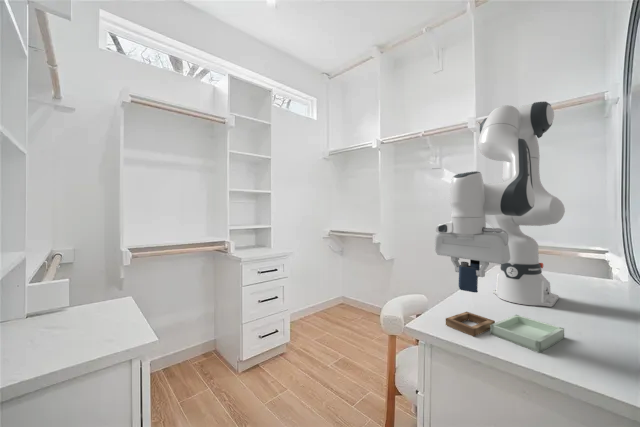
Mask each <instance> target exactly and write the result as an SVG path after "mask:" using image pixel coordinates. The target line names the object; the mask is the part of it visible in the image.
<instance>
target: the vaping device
mask: <svg viewBox="0 0 640 427" xmlns="http://www.w3.org/2000/svg"><path fill="white" fill-rule="evenodd" d="M469 260H470V259H469ZM480 268H481V265H480V261H476V260H470V262H468V261H460V267H459V273H458V288H459V290H460V291H463V292H464V291H465V292H471V293H478V291H479V290H478V286H479V285H478V284H479V281H478V280H479V277H478V276H476V274H477V273H476V270H479V269H480Z"/></svg>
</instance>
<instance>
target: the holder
mask: <svg viewBox="0 0 640 427" xmlns="http://www.w3.org/2000/svg"><path fill="white" fill-rule="evenodd" d="M467 321H470V322H472V323H475V324H474V325H469V324H467V323H463V322H467ZM495 321H496V320H493V319H491V318H487V317H485V316H481V315H478V314H475V313H472V312H469V311H464V312H461V313H457V314H455V315H451V316H449V317H445V326H446V325H447V326H446V327H449V328H452V329H453V330H457V331H459V332H461V333H464V334H467V335H469V336H470V337H471V336H472V337H476V336H478V335H481V334H485V332H488V331H490V325H492V324H494V323H496V322H495Z"/></svg>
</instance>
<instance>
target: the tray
mask: <svg viewBox="0 0 640 427" xmlns="http://www.w3.org/2000/svg"><path fill="white" fill-rule="evenodd" d="M489 331H490V335H492V336H494V337H497V338H499V339H502V340H505V341H508V342H510V343H513V344H515V345H518V346H521V347H524V348H526V349H527V350H532V351H534V352H537V353H538V354H539V353H542V352H543V351H546V350H547V349H548V348H550V347H551V346H552V347H553V346H554V345H555V344H557V343H559V342H560V341H562V340H565V327H560V326H556V325H555V324H554V325H553V324H549V323H545V322H543V321H540V320H536V319H532V318H529V317H525V316H522V315H519V314H515V315H512V316H510V317H509V316H508V317H507V318H504V319H502V320H499V321H497V322H495V323H494V324H492V325H490V330H489Z"/></svg>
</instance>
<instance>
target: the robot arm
mask: <svg viewBox="0 0 640 427" xmlns="http://www.w3.org/2000/svg"><path fill="white" fill-rule="evenodd" d="M554 119H555V111H554V108H553V107H552V105H551V103H549V102H547V101H537V102H536V101H535V102H533V103H531V104H525V105H520V106H512V105H501V106H498V107H496V108H494V109H493V110H492V111H491V112H489V114H488V116H487V117H486V118H484V119H483V120H482V122H481V123H480V125H479V137H478V143H477V148H478V150H479V152H480V153H481V154H482V155H483V156H484V157H486V158H487V159H489V160H493V161H496V162H497V161H499V162H502V181H501V182H492V183H485V182H484V178H483V174H482V173H481V171H478V170H477V171H469V172H468V171H467V172H462V173H457V174H455V175H453V176H452V179H451V182H450V186H449V187H450V189H449V203H450V206H451V214H450V221H447V222H444V223H441V224H438V225H436V226H435V231H436V235H435V237H434V251H435V253H436V254H437V255H438V256H443V257H448V258H449V257H450V261H451V263H452V265H453V266H454V272H455V273H458V274H459V267H460V265H461V263H460V262H459V260H460V259H464V260H476V261H480V269H479V270H476V273H477V274H476V276H478V278H479V277H480V278H484V277H485V276H486V270H487V269H488V267H489V266H490V263H491V264H497V265H498V264H499V267H500V270H501V271H500V272H498V273H497V275H496V276H497V277H496V289H495V290H493V292H492V293H493V294H494V295H496V297H497V298H499V299H501V300H504V301H507V302H510V303H513V304H520V305H524V306H538V307H539V306H540V307H550V308H552V307H554V305H555V304H556V303H557V301H558V300H559V298H560V297H559V295H558V294H556V293H552V291H551V283H550V281H549V280H548V279H547V278H546V277H545V276H544V275H543V274H542V273H543V271H542V269H543V268H544V263H543V262H539V261H540V259H539V258H540V256H539V244H538V242H537V240H535V239H534V238H533V237H531V236H529V235H528V234H525V233H524V232H523V231H522V230H521V227H520V226H526V227H527V226H528V227H529V226H530V227H531V226H534V227H536V226H537V227H541V226H548V225H555V224H557V223H559V222H560V221H561V220H562V219H563V218H564V216H565V212H566V211H565V209H566V208H565V205H564V203H563V202H562V200H560V199H559V198H558V197H557V196H555V195H553V194H551V193H550V192H549V191H547V190H546V189H545V187H544V186H543V184H542V181H541V177H540V176H541V175H540V146H539V141H538V140H539V139H540V138H541V137H543V135H544V133H546V132H547V131H548V130H549V129H550V128H551V126H552V125H553V123H554V122H553V121H554ZM486 224H488V225H490V226H491V227H487V225H486Z"/></svg>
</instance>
